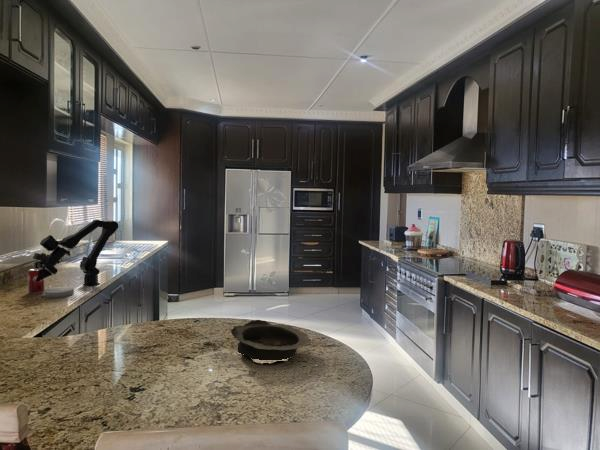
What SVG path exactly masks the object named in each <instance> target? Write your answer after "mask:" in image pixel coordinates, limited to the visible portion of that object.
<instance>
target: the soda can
mask: <svg viewBox="0 0 600 450" xmlns="http://www.w3.org/2000/svg"><path fill="white" fill-rule="evenodd" d="M41 271H42V269H35V268H30V269H28V270H27V288H28V290H27V291H28V292H27V293H28V294H31V295H35V294H36V295H37V294H39V295H40V294H43V293H44V292H45V290H46V289H45V278H44V279H42V280H40V281H38V282H36V281H35V280H36V278H37V277H38V275H39V274H40V273H41Z"/></svg>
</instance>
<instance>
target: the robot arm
mask: <svg viewBox="0 0 600 450" xmlns="http://www.w3.org/2000/svg"><path fill="white" fill-rule="evenodd" d="M97 228H101V234H100V236H99V237H98V239H97V241H96V242H95V244H94V246H93V247H92V249H91V251H90V253H89V254H88V256H83V257H82V259H81V261H80V262H79V268H80V270H81V271H82V272H83V274H84V278H83V283H82V285H83V286H88V287H89V286H90V287H92V286H97V285H100V284H101V283H100V282H99V274H100V269H98V268H97V264H98V263H97V262H98V258H99V256H100V254H101V252H103V249H104V247H105V246H106V243H107V242H108V240H109V239H110V237H111V236H112V235H114V234H115V232H116V231H117V230H118V229H119V223H118V222H117V221H116V220H106V221H105V220H100V219H93V220H92V221H91V222H89V223H88V224H86V225H85V226H84V227H82V228H81V229H79V230H78V231H77V232H75V233H73V234H70V235H67V236H66V237H64V238H62V239H61V240H57V239H55V238H54V236H53V235H50V234H49V235H48V236H46V237H45V238H43V239H42V240H41V241H40V243H39V245H40V246H41V247H43V248H44V249H45V250H47V251H48V252H51V253H50V254H47V253H44V252H41V253H38V252H35V253H34V255H33V257H32V259H33V260H35V261H34V262H32V264H33V267H34V268H33V269H42V271H41V273H40V274H39V275H38V277H37V278H36V280H35V281H36V282H38V281H40V280H42V279H44V280H45V279H47V278H48V277H51V276H53V275H56V274H57V273H58V269H57V267H55V266H57V264H58V265H59V264H60V262H61V260H62V259H63V258H64V257H65V256H69V257H70V256H71V249H72V250H73V249H74V248H76V246H78V244H79V243H80V241H81V240H82V239H83V238H85V237H86V236H88V235H89V234H91V233H92V232H93V231H95V230H96V229H97Z"/></svg>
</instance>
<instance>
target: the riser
mask: <svg viewBox="0 0 600 450" xmlns="http://www.w3.org/2000/svg"><path fill="white" fill-rule="evenodd" d="M74 292H75V290H74V288H73V287H71V286H57V287H51V288H50V287H49V288H46V289H45V291H44V292H43V293H44V298H46V299H59V298H60V299H61V298H68V297H71V296H74V294H75V293H74Z"/></svg>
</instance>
